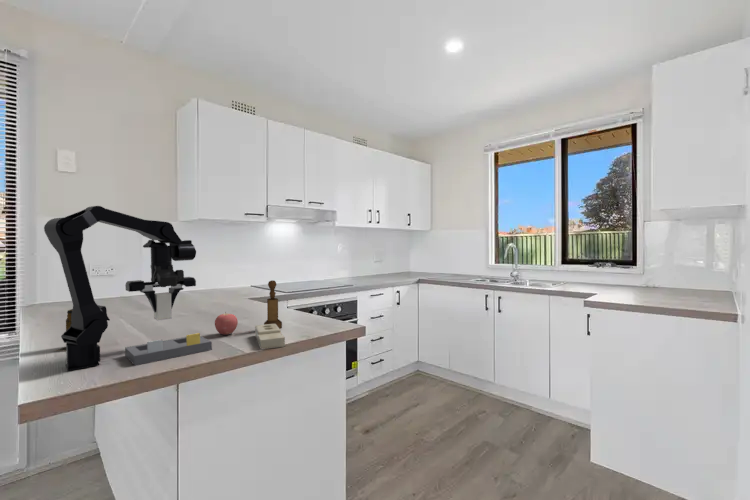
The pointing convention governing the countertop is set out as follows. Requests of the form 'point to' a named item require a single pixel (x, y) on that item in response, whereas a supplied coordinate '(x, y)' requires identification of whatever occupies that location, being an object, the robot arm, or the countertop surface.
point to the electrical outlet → (269, 336)
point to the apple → (226, 323)
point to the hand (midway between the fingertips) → (162, 311)
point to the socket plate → (167, 349)
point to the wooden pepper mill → (272, 307)
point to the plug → (163, 306)
